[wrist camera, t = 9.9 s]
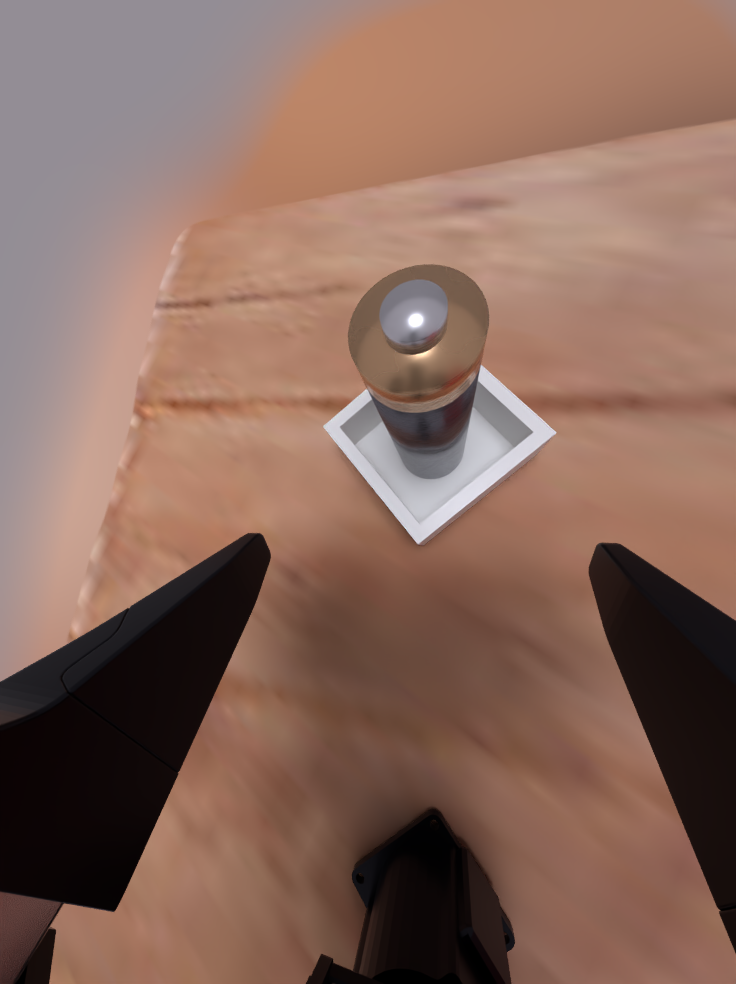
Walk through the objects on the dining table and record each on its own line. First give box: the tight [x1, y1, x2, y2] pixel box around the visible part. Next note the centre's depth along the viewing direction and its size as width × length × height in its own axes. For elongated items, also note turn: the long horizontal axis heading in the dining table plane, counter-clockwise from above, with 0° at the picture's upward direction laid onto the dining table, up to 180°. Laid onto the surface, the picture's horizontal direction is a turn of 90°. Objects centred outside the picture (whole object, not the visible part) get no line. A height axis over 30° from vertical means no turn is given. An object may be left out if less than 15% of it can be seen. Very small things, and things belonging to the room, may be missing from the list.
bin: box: [323, 365, 556, 546], centre depth 21 cm, size 10×10×4 cm
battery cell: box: [348, 265, 489, 479], centre depth 16 cm, size 4×4×13 cm
